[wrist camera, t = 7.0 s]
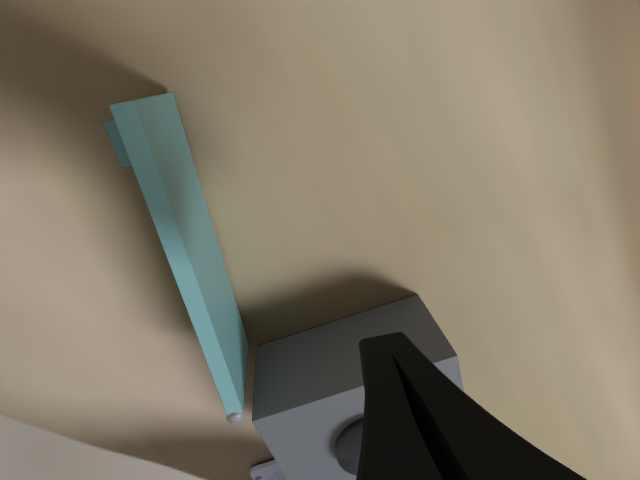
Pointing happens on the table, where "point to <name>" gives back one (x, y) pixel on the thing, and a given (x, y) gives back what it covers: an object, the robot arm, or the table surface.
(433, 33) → the table surface
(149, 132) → the door
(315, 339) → the block
